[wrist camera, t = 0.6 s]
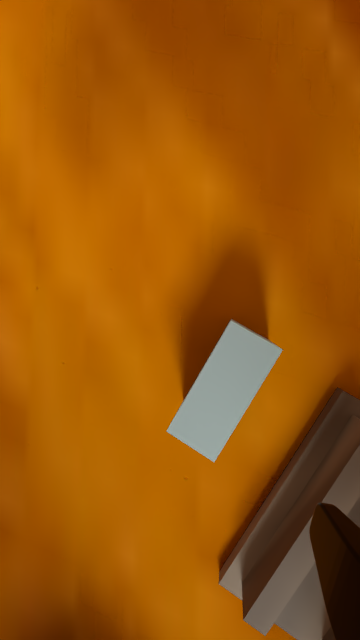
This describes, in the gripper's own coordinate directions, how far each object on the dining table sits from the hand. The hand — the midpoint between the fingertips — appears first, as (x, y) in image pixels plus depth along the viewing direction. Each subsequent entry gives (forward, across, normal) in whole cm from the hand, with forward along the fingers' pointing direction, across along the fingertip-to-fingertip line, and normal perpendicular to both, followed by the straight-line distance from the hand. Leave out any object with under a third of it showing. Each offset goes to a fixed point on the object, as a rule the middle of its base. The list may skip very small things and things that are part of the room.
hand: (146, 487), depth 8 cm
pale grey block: (+14, -4, +2) cm, 14 cm away
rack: (+11, -13, +10) cm, 20 cm away
